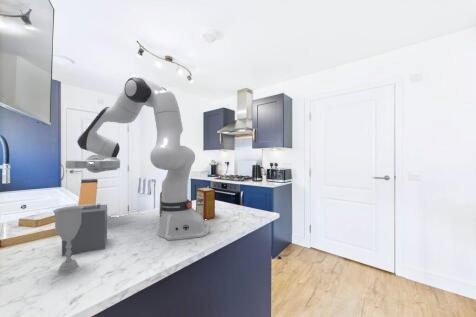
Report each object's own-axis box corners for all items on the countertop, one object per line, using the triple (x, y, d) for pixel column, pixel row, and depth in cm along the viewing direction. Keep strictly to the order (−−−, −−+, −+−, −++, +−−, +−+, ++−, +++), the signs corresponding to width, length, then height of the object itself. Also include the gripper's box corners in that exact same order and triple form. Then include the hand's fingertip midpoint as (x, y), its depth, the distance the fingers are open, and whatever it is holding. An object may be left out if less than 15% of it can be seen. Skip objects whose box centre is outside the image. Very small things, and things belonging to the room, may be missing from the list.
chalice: (65, 263, 63) (66, 205, 63) (88, 262, 64) (89, 205, 63) (45, 277, 56) (45, 212, 56) (71, 276, 56) (71, 212, 56)
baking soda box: (195, 216, 115) (196, 188, 114) (205, 214, 119) (206, 187, 119) (204, 220, 107) (204, 190, 107) (214, 217, 111) (215, 189, 111)
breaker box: (69, 244, 76) (69, 204, 76) (107, 238, 82) (107, 201, 82) (61, 256, 67) (62, 210, 67) (104, 248, 73) (104, 206, 73)
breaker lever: (78, 210, 74) (82, 181, 80) (95, 208, 76) (97, 180, 82) (77, 208, 72) (81, 178, 78) (94, 206, 75) (97, 178, 81)
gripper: (69, 156, 93) (60, 157, 81) (120, 157, 103) (119, 157, 91) (69, 170, 93) (60, 172, 81) (120, 169, 103) (119, 171, 91)
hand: (92, 164), depth 86 cm, fingers closed
